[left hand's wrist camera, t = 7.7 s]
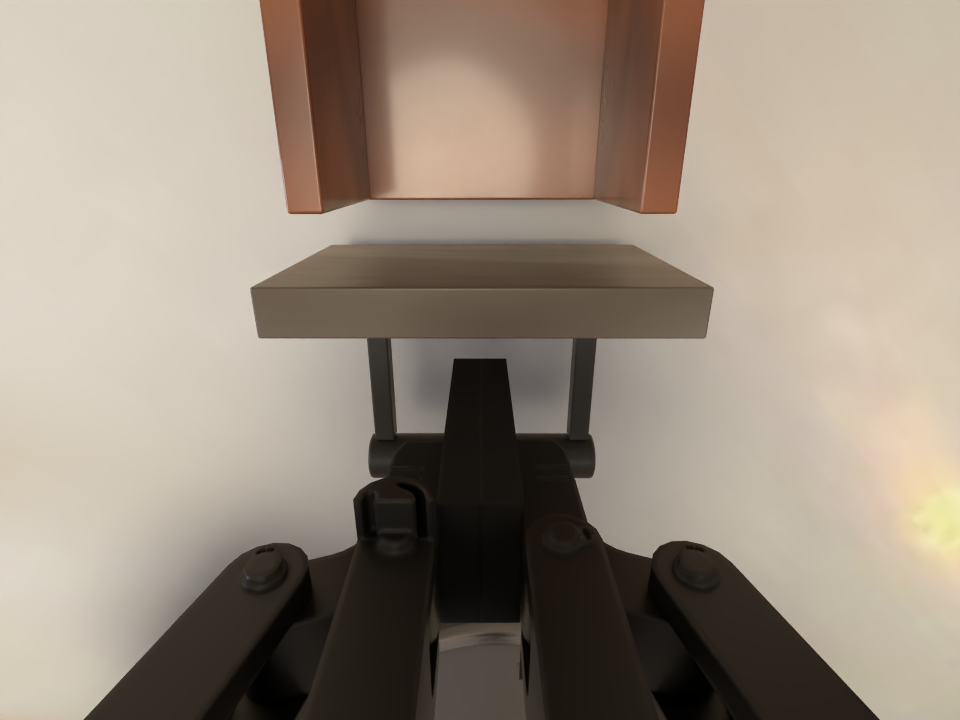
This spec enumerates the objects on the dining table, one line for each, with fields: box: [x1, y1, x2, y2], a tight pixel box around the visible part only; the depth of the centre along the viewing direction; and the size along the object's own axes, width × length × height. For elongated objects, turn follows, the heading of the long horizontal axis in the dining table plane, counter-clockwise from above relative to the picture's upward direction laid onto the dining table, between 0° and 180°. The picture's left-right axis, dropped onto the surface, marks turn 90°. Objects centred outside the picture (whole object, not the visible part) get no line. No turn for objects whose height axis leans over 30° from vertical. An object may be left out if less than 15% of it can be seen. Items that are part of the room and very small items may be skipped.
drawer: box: [250, 0, 714, 478], centre depth 12 cm, size 25×10×6 cm, turn 0°
